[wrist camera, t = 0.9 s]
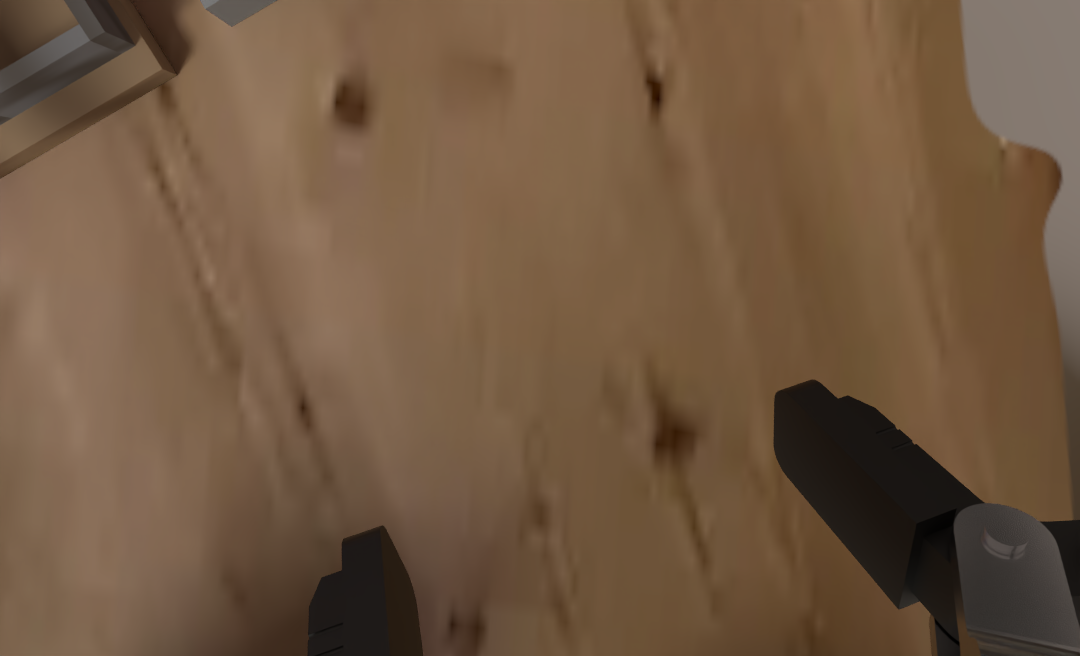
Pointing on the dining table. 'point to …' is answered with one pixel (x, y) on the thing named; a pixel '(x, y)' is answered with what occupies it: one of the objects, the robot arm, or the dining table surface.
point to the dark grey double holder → (69, 70)
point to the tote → (234, 9)
